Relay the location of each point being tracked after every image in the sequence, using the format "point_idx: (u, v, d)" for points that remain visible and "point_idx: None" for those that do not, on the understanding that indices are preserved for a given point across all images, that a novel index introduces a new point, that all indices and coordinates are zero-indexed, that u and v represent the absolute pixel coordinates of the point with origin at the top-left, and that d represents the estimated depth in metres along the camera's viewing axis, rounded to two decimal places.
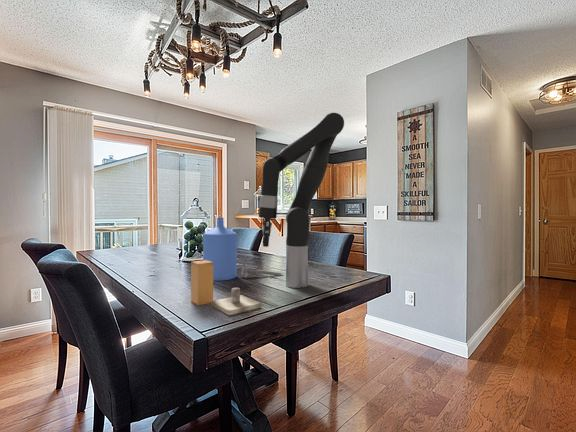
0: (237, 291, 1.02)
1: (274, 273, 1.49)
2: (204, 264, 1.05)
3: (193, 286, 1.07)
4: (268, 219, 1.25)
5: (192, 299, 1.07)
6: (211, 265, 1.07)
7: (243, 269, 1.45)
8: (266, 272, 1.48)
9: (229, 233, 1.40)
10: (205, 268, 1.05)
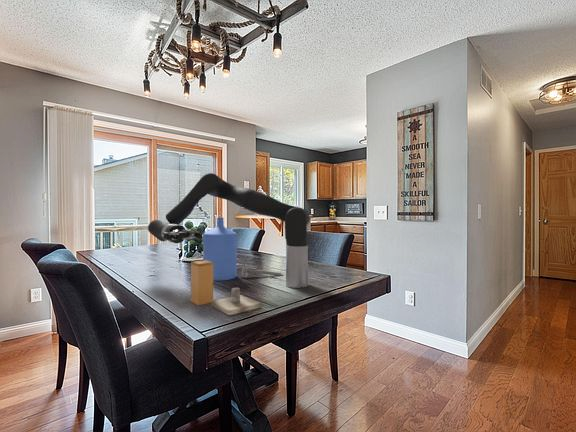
0: (237, 291, 1.02)
1: (274, 273, 1.49)
2: (204, 264, 1.05)
3: (193, 286, 1.07)
4: (169, 233, 1.21)
5: (192, 299, 1.07)
6: (211, 265, 1.07)
7: (243, 269, 1.45)
8: (266, 272, 1.48)
9: (229, 233, 1.40)
10: (205, 268, 1.05)
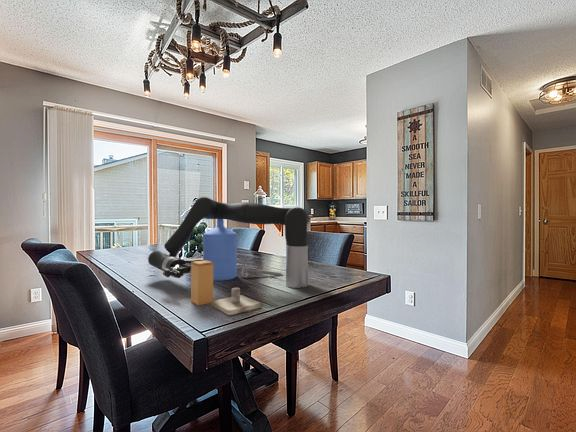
0: (237, 291, 1.02)
1: (274, 273, 1.49)
2: (204, 264, 1.05)
3: (193, 286, 1.07)
4: (169, 269, 1.20)
5: (192, 299, 1.07)
6: (211, 265, 1.07)
7: (243, 269, 1.45)
8: (266, 272, 1.48)
9: (229, 233, 1.40)
10: (205, 268, 1.05)
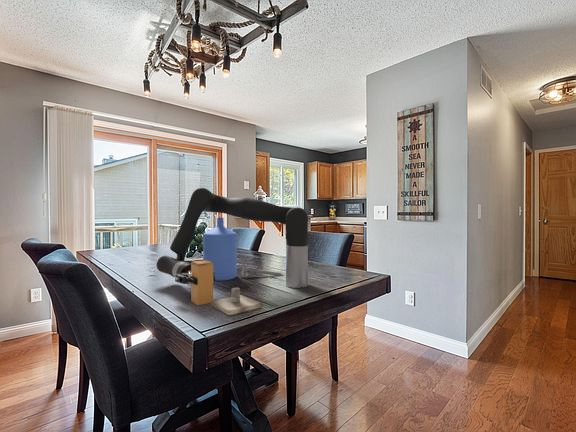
0: (237, 291, 1.02)
1: (274, 273, 1.49)
2: (204, 264, 1.05)
3: (193, 286, 1.07)
4: (181, 275, 1.12)
5: (192, 299, 1.07)
6: (211, 265, 1.07)
7: (243, 269, 1.45)
8: (266, 272, 1.48)
9: (229, 233, 1.40)
10: (205, 268, 1.05)
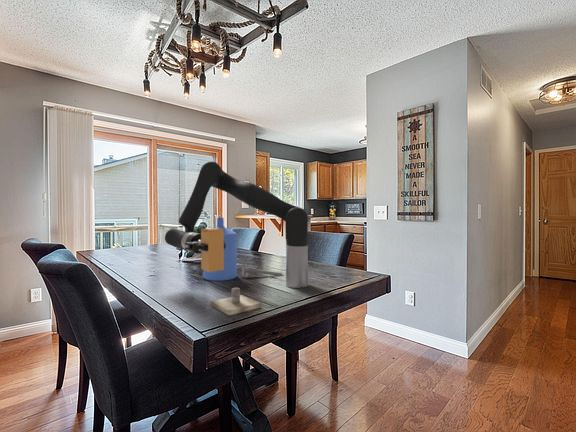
0: (237, 291, 1.02)
1: (274, 273, 1.49)
2: (214, 230, 1.03)
3: (203, 253, 1.05)
4: None
5: (202, 267, 1.06)
6: (222, 232, 1.05)
7: (243, 269, 1.45)
8: (266, 272, 1.48)
9: (229, 233, 1.40)
10: (215, 234, 1.04)
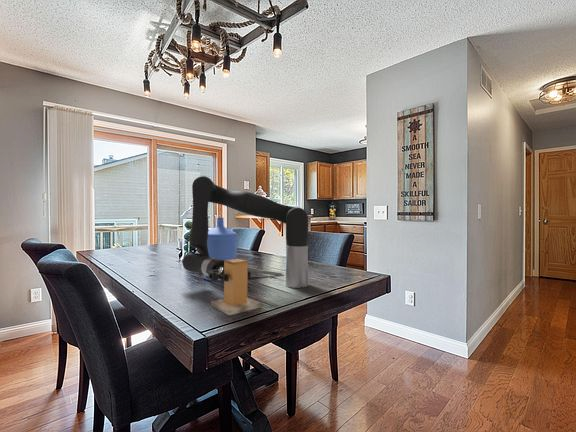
0: None
1: (275, 273, 1.49)
2: (239, 263, 1.00)
3: (227, 286, 1.02)
4: (212, 271, 1.07)
5: (225, 299, 1.03)
6: (245, 264, 1.02)
7: None
8: (267, 272, 1.48)
9: (229, 233, 1.40)
10: (239, 267, 1.00)
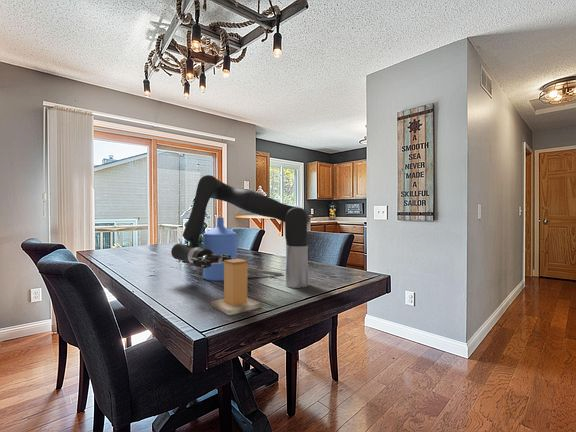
0: None
1: (275, 273, 1.49)
2: (238, 263, 1.00)
3: (227, 286, 1.02)
4: (197, 259, 1.17)
5: (225, 299, 1.03)
6: (245, 264, 1.02)
7: None
8: (267, 272, 1.48)
9: (229, 233, 1.40)
10: (239, 267, 1.01)
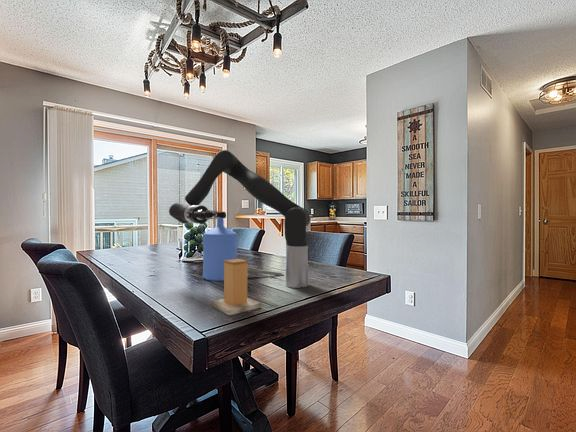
0: None
1: (275, 273, 1.49)
2: (238, 263, 1.00)
3: (227, 286, 1.02)
4: None
5: (225, 299, 1.03)
6: (245, 264, 1.02)
7: None
8: (267, 272, 1.48)
9: (229, 233, 1.40)
10: (239, 267, 1.01)
